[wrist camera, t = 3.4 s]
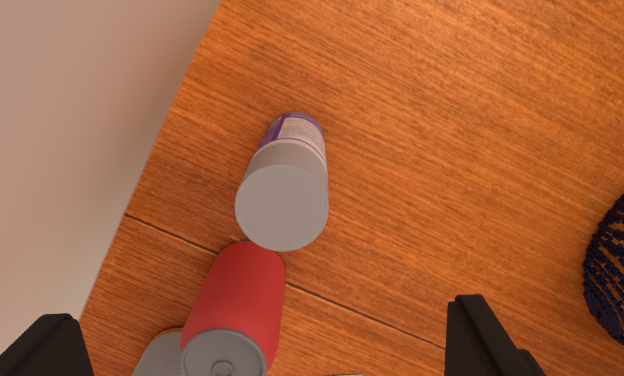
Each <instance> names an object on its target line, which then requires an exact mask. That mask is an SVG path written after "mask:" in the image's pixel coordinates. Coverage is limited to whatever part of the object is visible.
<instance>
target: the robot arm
mask: <svg viewBox="0 0 624 376" xmlns="http://www.w3.org/2000/svg"><path fill="white" fill-rule="evenodd" d="M0 376H94V373H93V370H92V366H91V363H90V359H89V356H88V353H87V349H86V346H85V342H84V339H83V335H82V332H81V328H80V325H79V322H78V321H77V320H76V319H73V317H72V316H71V315H70V314H67V313H64V314H45V315H42V316H41V317H39V318H38V319H37V320H36V321H35V322H34V323H33V324H32V325H31V326H30V327H29V328H28V329H27V330H26V331H25V332H24V333H23V334H22V335H21V336H20V337H19V338H18V339H17V340H16V341H15V342H14V343H13V344H11V345H10V346H9V347H8V348H7V349H6V351H4V352H3V353H2V354H1V355H0ZM444 376H546V375H545V373H544V372H543V370H542V369H541V368H540V366H539V365H538V363H537V362H536V360H535V359H534V357H533V356H532V355H531V354H530V353H529V351H527V350H525V349H517V348H516V346H515V345H514V343H513V342H512V340H511V339H510V337H509V336H508V334H507V333H506V331H505V330H504V328H503V327H502V325H501V324H500V322H499V321H498V319H497V318H496V316H495V314H494V313H493V311H492V310H491V308H490V307H489V305H488V304H487V302H486V301H485V299H484V298H483V296H482V295H480V294H474V295H457V296H456V298H455V301H454V302H449V303H448V309H447V330H446V351H445V373H444Z"/></svg>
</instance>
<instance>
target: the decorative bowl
mask: <svg viewBox="0 0 624 376" xmlns="http://www.w3.org/2000/svg"><path fill="white" fill-rule="evenodd" d="M621 198H622V199H620V200H618V201H616V205H613V206H614V208H613V209H611V210H609V211H608V213H609V214H607V215H606V218H604V222H602V223H599V224H598V225H599V227H600V229H599V230H597V232H598V233H596V234H594V235H592V237H593V241H591V244H590V245H589V248H587V252H588V254H586V255H585V256H586V258H587V260H585V261H584V262H585V263H584V264H582V266H583V268H584V271H585V274H584V275H583V277H584V280H585V282H583V286H584V288H585V291H586V292H584V293H583V294H584V297H585V299H586V302H587V305H588V307H589V310H590V312H591V315H592V316H595V317H596V319H597V322H598V323H599V324H600V325H601V326H602V327H603V328H604V329H605V330H607V331H608V334H609V335H610V336H611V337H612V338H613V339H616V340H617V341H618V342H619V343H621V344H622V345H624V337H623V335H622V334H624V332H623V329H622V327H621V324H620V321H619V318H618V316H617V313H616V312H615V311H614V309H613V306H612V305H611V304H610V302H609V301H608V300H607V298H606V295H605V294H607V296H608V298H609V299H610V301H611V302H612V303H613V305H614V307H615V309H616V310H617V312H618V314H619V315H620V316H621V318H622V321H623V324H624V310H623V309H622V308H621V305H624V303H623V302H622V301H621V300H620V301H617V299H616V298H615V297H614V295H613V294H612V293H611V291H610V290H609V289H608V287H607V286H606V284H608V281H607V280H606V279H605V278H607V279H608V280H609V282H610V283H611V284H612V286H613V287H614V288H615V290H616V292H618V294H619V296H620V297H621V298H622V300H623V301H624V293H623V291H622V290H621V289H620V288H619V287H618V285H617V283H616V282H615V281H614V279H613V277H611V276H610V275H609V274H607V272H606V270H604V269H603V268H602V267H601V265H600V264H599V263H598V262H596V261H595V259H596V260H597V261H599V262H600V263H601V264H604V263H606V264H607V265H605V266H604V267H605V269H607V271H608V273H610V274H611V275H612V276H614V277H617V276H618V278H619V279H620V281H618V284H619V285H621V287H622V289H623V290H624V274H622V273H621V272H620V270H619V269H618V268H617V267H615V265H614V263H612V262H611V261H610V260H609V258H608V257H607V256H605V255H604V252H602V251H601V250H599V249H598V248H599V247H600V244H598V243H599V242H600V243H601V245H602V246H603V247H604V248H606V249H607V250H608V252H609V253H610V254H611V255H613V256H614V257H617V256H620V257H621V258H618V261H619V262H620V263H621V265H622V266H623V267H624V248H623V245H621V244H619V245H616V244H614V243H613V242H611V240H613V237H614V238H615V239H617V240H618V241H621V240H624V231H622V232H621V231H620V230H618V229H616V230H613V229H611V228H609V227H608V226H607V225H608V224H610V225H612V224H614V223H613V221H614V222H615V223H617V224H618V223H620V220H621V221H622V223H623V224H624V215H620V214H618V213H616V212H617V210H618V211H620V212H622V213H624V195H622V196H621ZM616 209H617V210H616ZM606 231H607V232H609V233H610V234H612V236H610V235H609V234H607V233H606ZM601 236H604V237H605V238H607V239H608V240H606V241H605V240H603V239H602V238H601ZM594 258H595V259H594ZM591 263H593V265H595V266H596V267H597V268H598V269H599V271H600V272H601V273H603V274H604V276H603V275H602V274H598V275H597V274H596V273H597V272H598V270H597V269H596V268H595V267H591V265H592V264H591ZM588 275H590V276H591V277H592V278H593V279H594V280H596V282H597V284H599V285H600V286H601V288H602V289H603V290H604V292H605V294H603V293H602V292H601V289H599V288H598V287H597V286H596V284H595V283H594V282H593V281H592V280H591V279H590V277H589V276H588ZM594 302H595V303H596V304H597V306H598V308H599V309H600V311H601V312H600V311H599V312H598V310H597V308H596V305H595V303H594Z"/></svg>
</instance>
